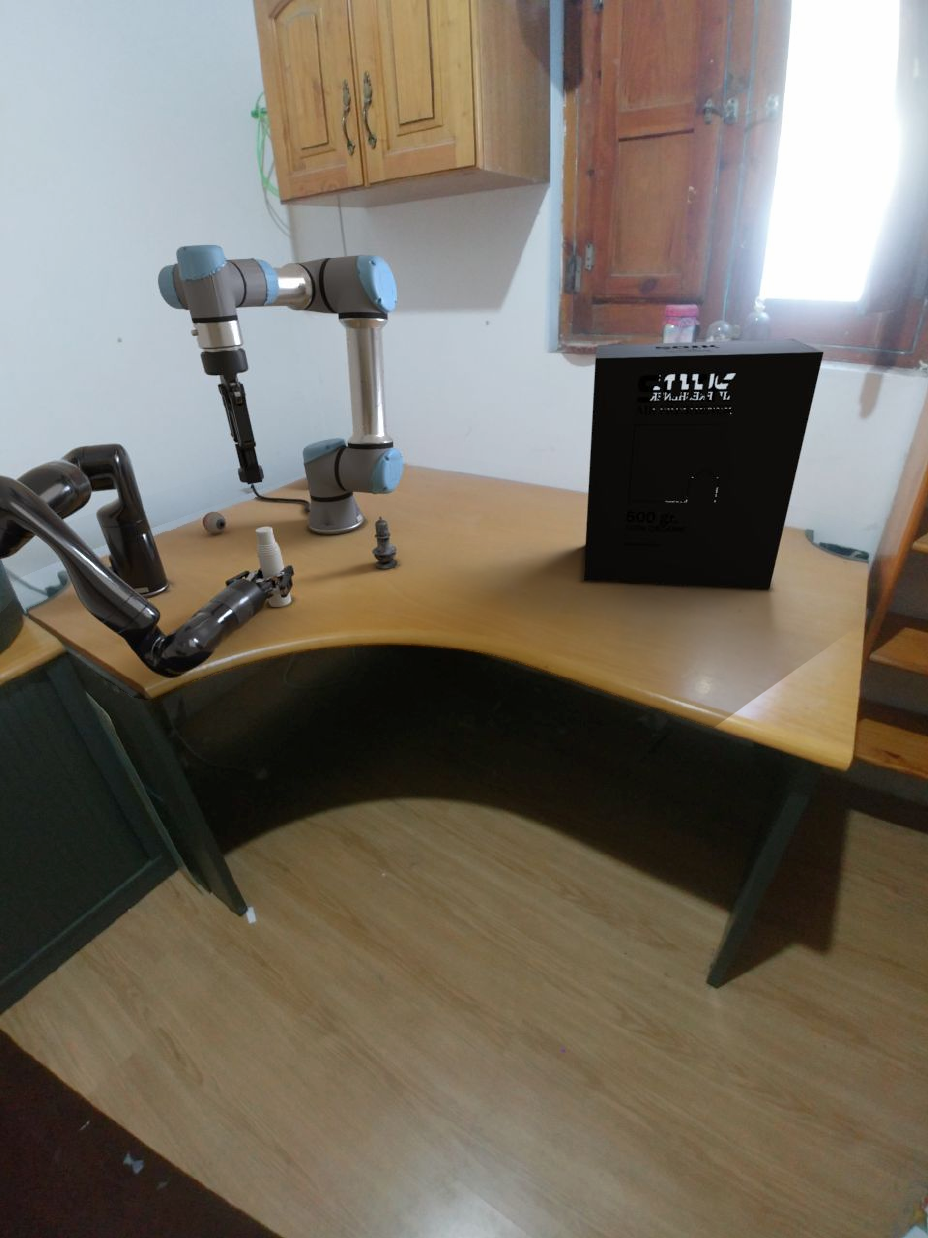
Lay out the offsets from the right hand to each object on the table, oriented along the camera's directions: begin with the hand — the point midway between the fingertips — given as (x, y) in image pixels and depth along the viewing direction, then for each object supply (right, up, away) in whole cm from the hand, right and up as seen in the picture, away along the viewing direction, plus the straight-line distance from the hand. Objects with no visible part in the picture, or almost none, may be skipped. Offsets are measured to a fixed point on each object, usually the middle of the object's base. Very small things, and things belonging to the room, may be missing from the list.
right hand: (252, 479), depth 117 cm
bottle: (+1, -24, +14) cm, 27 cm away
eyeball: (-28, -3, +52) cm, 59 cm away
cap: (0, +2, -1) cm, 2 cm away
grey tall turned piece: (+23, -14, +28) cm, 38 cm away
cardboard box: (+88, -15, +19) cm, 91 cm away
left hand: (+2, -16, +12) cm, 21 cm away
